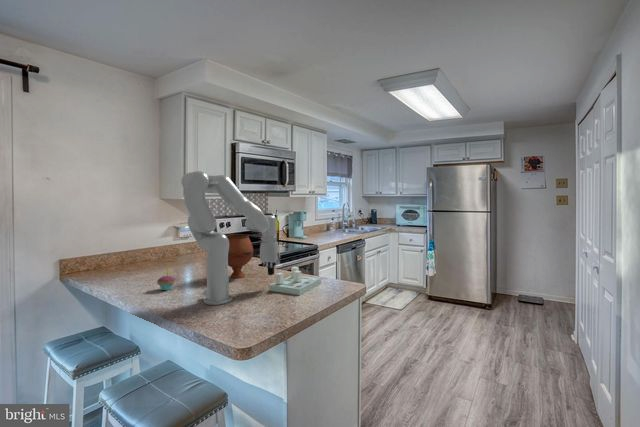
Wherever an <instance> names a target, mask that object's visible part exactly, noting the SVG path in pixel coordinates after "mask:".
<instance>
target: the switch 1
mask: <svg viewBox="0 0 640 427" xmlns="http://www.w3.org/2000/svg"><path fill="white" fill-rule="evenodd" d="M284 274H285V273H284V272H278V273H274V275H275V282H276V284H282V283H284V277H285V276H284Z"/></svg>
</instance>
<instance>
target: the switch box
mask: <svg viewBox="0 0 640 427" xmlns="http://www.w3.org/2000/svg"><path fill="white" fill-rule="evenodd" d="M321 280H322V278H320V277H312V276H304V275H303V276H302V275H301V281H300V282H294V279H293V277H291V275H289V276H287V277H285V278H284V283H282V284H276V281H275V282H273V283H271V284H269V285H268V287H269V291H270V292H276V293H283V294H289V295H296V296H301V295H303V294H305V293H307V292H308V291H311V290H313V289H314V288H316V287H317V286H320V285H321V284H322V281H321Z"/></svg>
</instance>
